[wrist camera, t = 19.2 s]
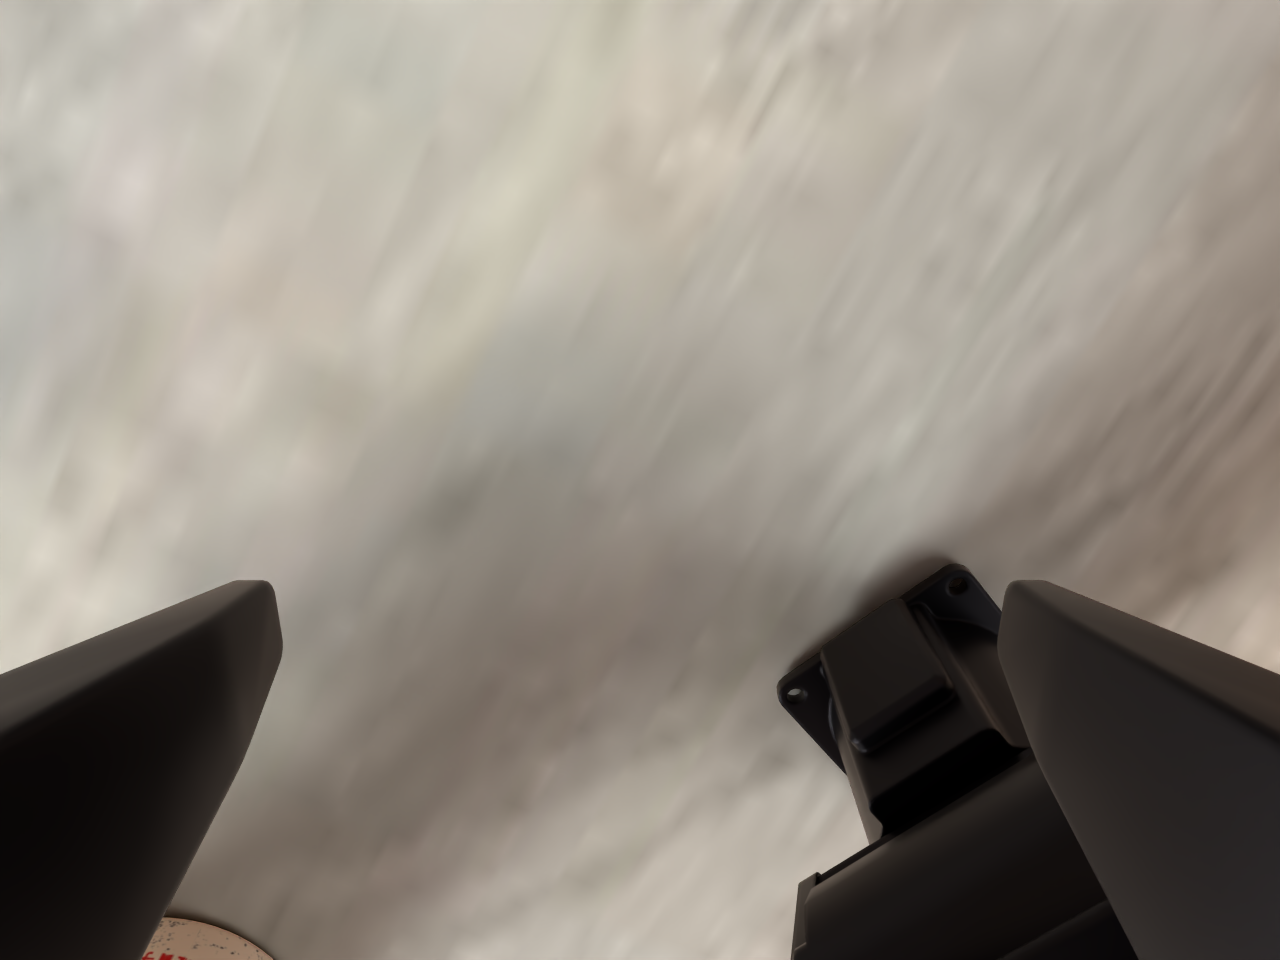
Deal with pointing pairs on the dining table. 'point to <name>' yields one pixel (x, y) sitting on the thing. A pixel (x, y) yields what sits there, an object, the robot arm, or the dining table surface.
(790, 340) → the dining table surface
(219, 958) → the teacup with lid
